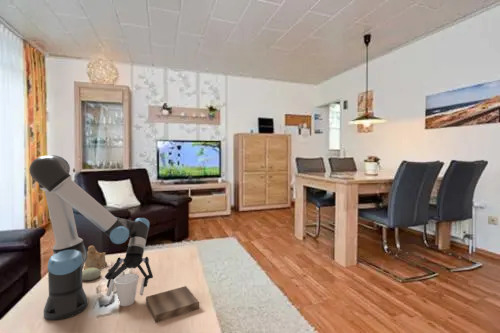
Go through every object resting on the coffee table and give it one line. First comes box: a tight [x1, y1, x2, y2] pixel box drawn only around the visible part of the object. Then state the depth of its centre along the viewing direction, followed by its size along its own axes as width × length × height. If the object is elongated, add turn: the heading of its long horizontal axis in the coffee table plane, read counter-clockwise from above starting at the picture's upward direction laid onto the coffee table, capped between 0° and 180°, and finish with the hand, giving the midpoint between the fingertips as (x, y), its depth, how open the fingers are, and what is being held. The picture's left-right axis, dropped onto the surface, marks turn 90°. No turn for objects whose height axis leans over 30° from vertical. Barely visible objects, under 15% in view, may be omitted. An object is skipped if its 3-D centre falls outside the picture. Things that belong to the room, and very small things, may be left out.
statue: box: [83, 245, 108, 271], centre depth 154 cm, size 12×14×10 cm
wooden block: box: [145, 285, 200, 324], centre depth 115 cm, size 18×16×3 cm
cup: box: [114, 272, 140, 307], centre depth 117 cm, size 10×10×11 cm
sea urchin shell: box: [82, 267, 102, 282], centre depth 140 cm, size 9×8×8 cm
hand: (124, 295), depth 115 cm, fingers open, 13 cm apart
